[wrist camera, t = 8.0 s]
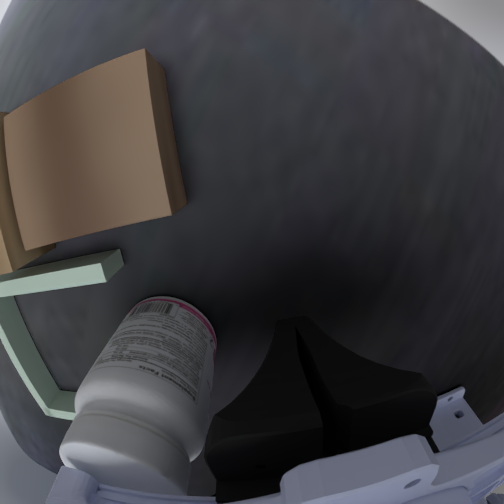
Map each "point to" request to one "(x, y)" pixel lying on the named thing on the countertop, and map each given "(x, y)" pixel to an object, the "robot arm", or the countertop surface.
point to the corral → (15, 331)
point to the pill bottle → (146, 400)
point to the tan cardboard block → (94, 153)
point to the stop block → (11, 221)
